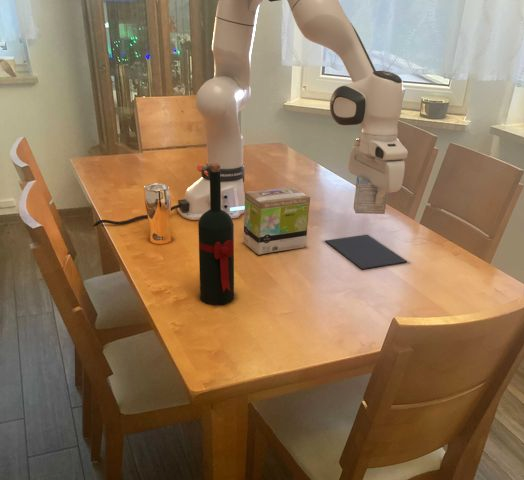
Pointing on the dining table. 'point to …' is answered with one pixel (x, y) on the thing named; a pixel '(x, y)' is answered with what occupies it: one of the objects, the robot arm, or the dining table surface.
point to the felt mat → (365, 252)
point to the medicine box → (367, 198)
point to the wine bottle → (216, 248)
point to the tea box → (275, 219)
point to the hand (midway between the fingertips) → (370, 199)
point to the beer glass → (158, 212)
